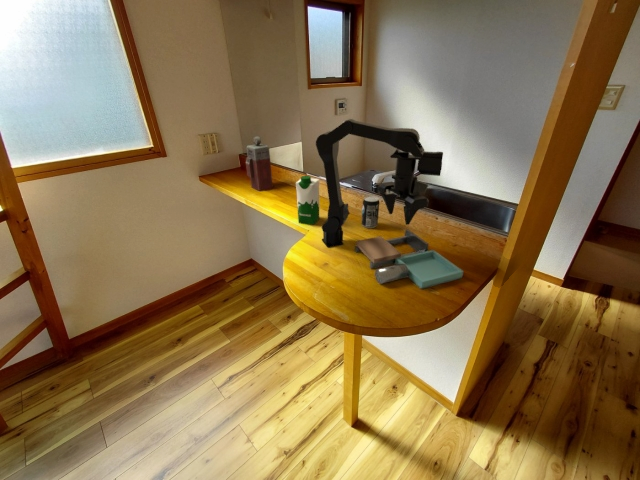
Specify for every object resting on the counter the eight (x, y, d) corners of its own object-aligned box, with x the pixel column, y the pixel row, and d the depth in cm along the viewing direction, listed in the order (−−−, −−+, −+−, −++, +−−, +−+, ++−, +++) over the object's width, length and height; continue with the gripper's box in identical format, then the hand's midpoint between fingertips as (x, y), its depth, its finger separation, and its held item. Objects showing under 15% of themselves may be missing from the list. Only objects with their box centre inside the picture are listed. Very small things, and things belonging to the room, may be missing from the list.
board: (373, 267, 96) (374, 259, 95) (355, 248, 107) (356, 241, 106) (400, 261, 99) (401, 253, 98) (380, 243, 110) (380, 236, 109)
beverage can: (365, 221, 130) (366, 194, 124) (379, 224, 127) (382, 197, 121) (358, 226, 124) (360, 199, 119) (373, 230, 121) (376, 202, 116)
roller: (381, 286, 89) (383, 274, 87) (374, 278, 93) (375, 266, 91) (407, 280, 92) (409, 268, 90) (399, 272, 95) (401, 260, 93)
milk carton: (295, 223, 128) (293, 178, 118) (303, 215, 136) (301, 171, 126) (315, 226, 125) (314, 179, 116) (321, 217, 133) (321, 173, 123)
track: (371, 269, 97) (372, 255, 95) (354, 251, 107) (355, 239, 105) (426, 256, 103) (428, 243, 101) (406, 240, 113) (407, 229, 111)
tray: (421, 289, 88) (422, 282, 86) (394, 264, 99) (395, 258, 98) (461, 278, 92) (463, 271, 91) (432, 255, 104) (433, 249, 102)
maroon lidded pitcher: (247, 188, 170) (240, 137, 156) (264, 184, 176) (259, 134, 163) (255, 192, 164) (249, 139, 150) (272, 188, 170) (268, 136, 157)
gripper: (447, 177, 87) (437, 225, 95) (407, 163, 102) (401, 205, 110) (416, 182, 83) (408, 232, 91) (379, 166, 99) (375, 210, 106)
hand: (398, 219), depth 99 cm, fingers open, 9 cm apart
